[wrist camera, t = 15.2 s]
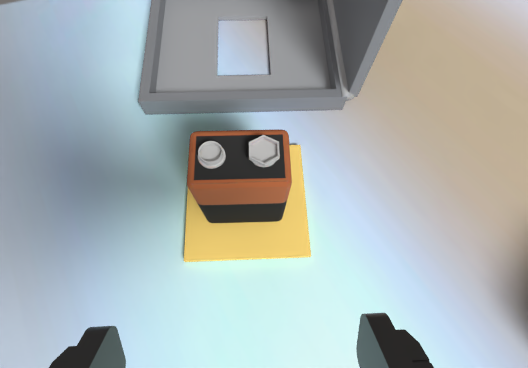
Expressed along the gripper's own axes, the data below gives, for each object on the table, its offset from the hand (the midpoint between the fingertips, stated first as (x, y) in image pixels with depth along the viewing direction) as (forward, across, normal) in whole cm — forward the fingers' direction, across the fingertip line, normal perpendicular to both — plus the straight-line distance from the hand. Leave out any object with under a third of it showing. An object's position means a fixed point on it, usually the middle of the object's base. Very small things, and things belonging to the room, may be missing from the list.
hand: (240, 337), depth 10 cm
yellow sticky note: (+19, 0, +4) cm, 19 cm away
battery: (+18, 0, +4) cm, 19 cm away
